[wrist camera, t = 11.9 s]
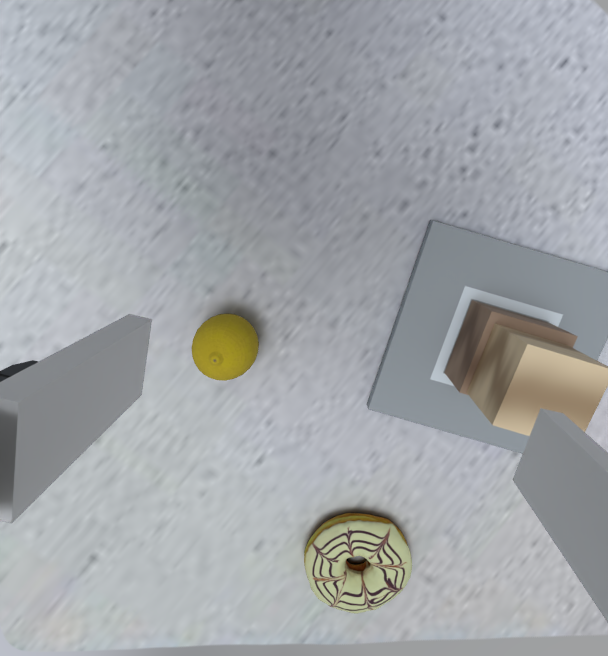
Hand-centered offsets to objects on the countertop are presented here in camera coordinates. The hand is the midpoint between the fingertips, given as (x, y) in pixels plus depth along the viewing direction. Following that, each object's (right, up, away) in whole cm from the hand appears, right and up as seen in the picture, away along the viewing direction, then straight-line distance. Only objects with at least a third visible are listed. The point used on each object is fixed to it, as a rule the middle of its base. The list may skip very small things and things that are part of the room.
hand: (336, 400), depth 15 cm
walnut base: (+16, +1, +26) cm, 31 cm away
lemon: (-8, +2, +28) cm, 29 cm away
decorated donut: (+5, -21, +33) cm, 40 cm away
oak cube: (+16, -1, +21) cm, 26 cm away
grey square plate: (+16, +1, +27) cm, 32 cm away
